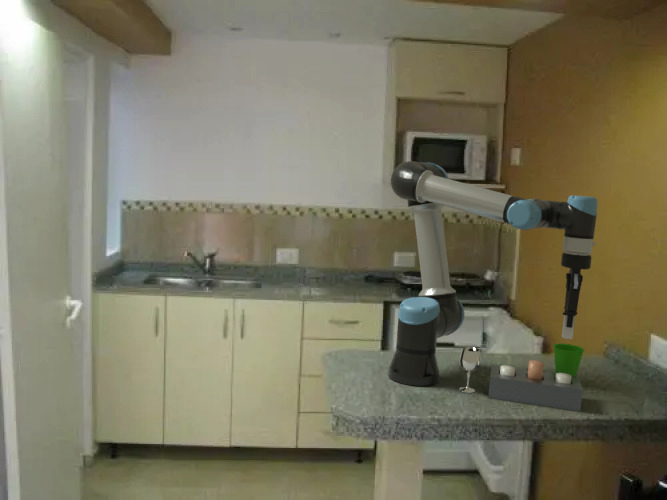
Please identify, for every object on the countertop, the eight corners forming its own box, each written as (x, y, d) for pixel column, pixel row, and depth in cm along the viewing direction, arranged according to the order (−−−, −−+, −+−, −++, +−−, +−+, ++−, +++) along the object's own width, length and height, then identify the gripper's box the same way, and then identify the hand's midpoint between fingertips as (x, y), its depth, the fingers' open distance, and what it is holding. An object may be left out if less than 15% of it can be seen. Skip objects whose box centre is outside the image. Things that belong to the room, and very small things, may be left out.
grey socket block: (488, 397, 180) (490, 376, 179) (489, 384, 191) (491, 364, 190) (580, 411, 174) (582, 389, 173) (575, 397, 185) (578, 376, 184)
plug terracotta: (526, 387, 181) (529, 363, 180) (526, 383, 184) (528, 359, 184) (541, 389, 180) (544, 365, 179) (541, 385, 183) (543, 361, 183)
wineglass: (465, 394, 181) (469, 352, 180) (452, 387, 186) (456, 347, 185) (481, 392, 184) (485, 351, 182) (468, 385, 189) (472, 345, 187)
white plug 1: (498, 392, 183) (500, 368, 182) (498, 388, 187) (500, 364, 186) (512, 394, 182) (515, 370, 181) (512, 390, 186) (515, 366, 185)
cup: (582, 389, 193) (587, 353, 191) (551, 385, 195) (555, 349, 193) (577, 379, 202) (581, 345, 200) (547, 376, 203) (551, 342, 202)
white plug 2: (553, 400, 179) (556, 376, 178) (553, 396, 183) (555, 372, 182) (569, 402, 178) (572, 378, 177) (567, 398, 182) (570, 374, 181)
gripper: (594, 257, 168) (584, 345, 171) (588, 251, 181) (579, 334, 184) (564, 254, 170) (554, 342, 173) (560, 249, 183) (551, 331, 186)
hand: (567, 338), depth 178 cm, fingers closed
